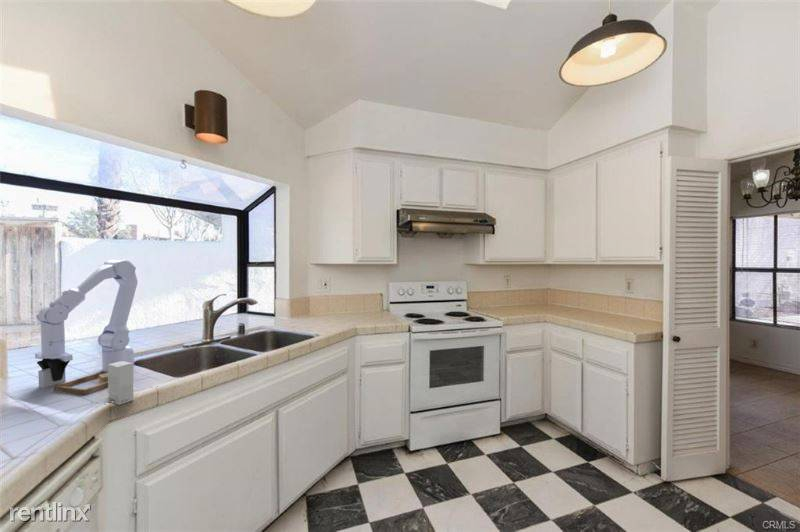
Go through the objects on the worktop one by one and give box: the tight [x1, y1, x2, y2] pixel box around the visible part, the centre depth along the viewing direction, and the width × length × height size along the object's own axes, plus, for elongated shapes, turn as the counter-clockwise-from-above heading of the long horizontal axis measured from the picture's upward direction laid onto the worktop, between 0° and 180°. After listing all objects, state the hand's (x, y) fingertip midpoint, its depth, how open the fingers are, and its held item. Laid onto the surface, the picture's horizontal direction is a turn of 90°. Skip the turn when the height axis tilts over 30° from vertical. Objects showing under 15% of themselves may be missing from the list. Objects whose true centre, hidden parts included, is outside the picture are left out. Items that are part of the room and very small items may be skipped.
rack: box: [52, 370, 108, 396], centre depth 118 cm, size 15×14×3 cm
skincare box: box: [107, 361, 135, 406], centre depth 108 cm, size 6×4×12 cm
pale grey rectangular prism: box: [37, 368, 67, 389], centre depth 117 cm, size 6×2×7 cm, turn 166°
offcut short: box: [98, 373, 108, 384], centre depth 121 cm, size 3×5×2 cm, turn 53°
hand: (54, 379), depth 118 cm, fingers closed on pale grey rectangular prism, 2 cm apart
